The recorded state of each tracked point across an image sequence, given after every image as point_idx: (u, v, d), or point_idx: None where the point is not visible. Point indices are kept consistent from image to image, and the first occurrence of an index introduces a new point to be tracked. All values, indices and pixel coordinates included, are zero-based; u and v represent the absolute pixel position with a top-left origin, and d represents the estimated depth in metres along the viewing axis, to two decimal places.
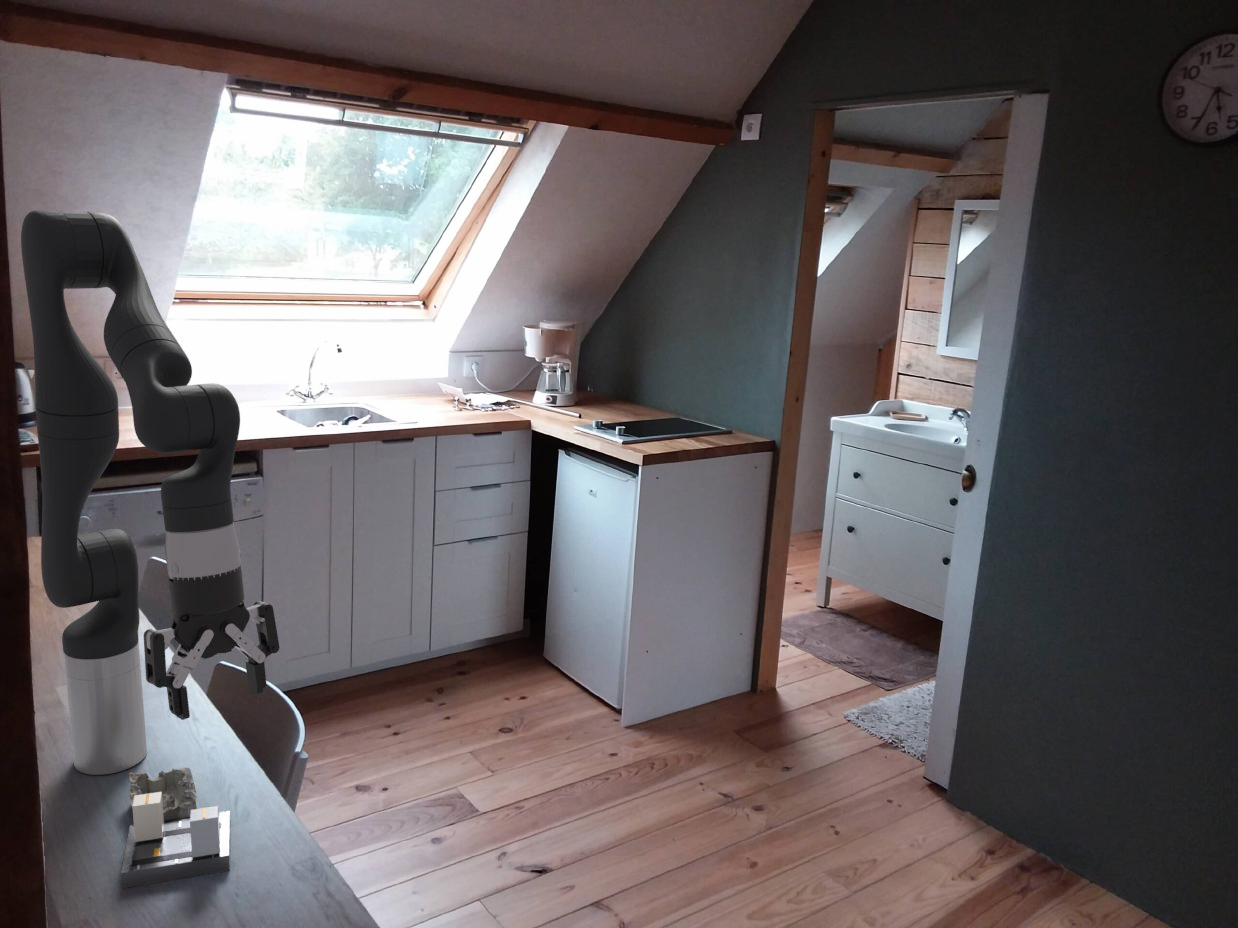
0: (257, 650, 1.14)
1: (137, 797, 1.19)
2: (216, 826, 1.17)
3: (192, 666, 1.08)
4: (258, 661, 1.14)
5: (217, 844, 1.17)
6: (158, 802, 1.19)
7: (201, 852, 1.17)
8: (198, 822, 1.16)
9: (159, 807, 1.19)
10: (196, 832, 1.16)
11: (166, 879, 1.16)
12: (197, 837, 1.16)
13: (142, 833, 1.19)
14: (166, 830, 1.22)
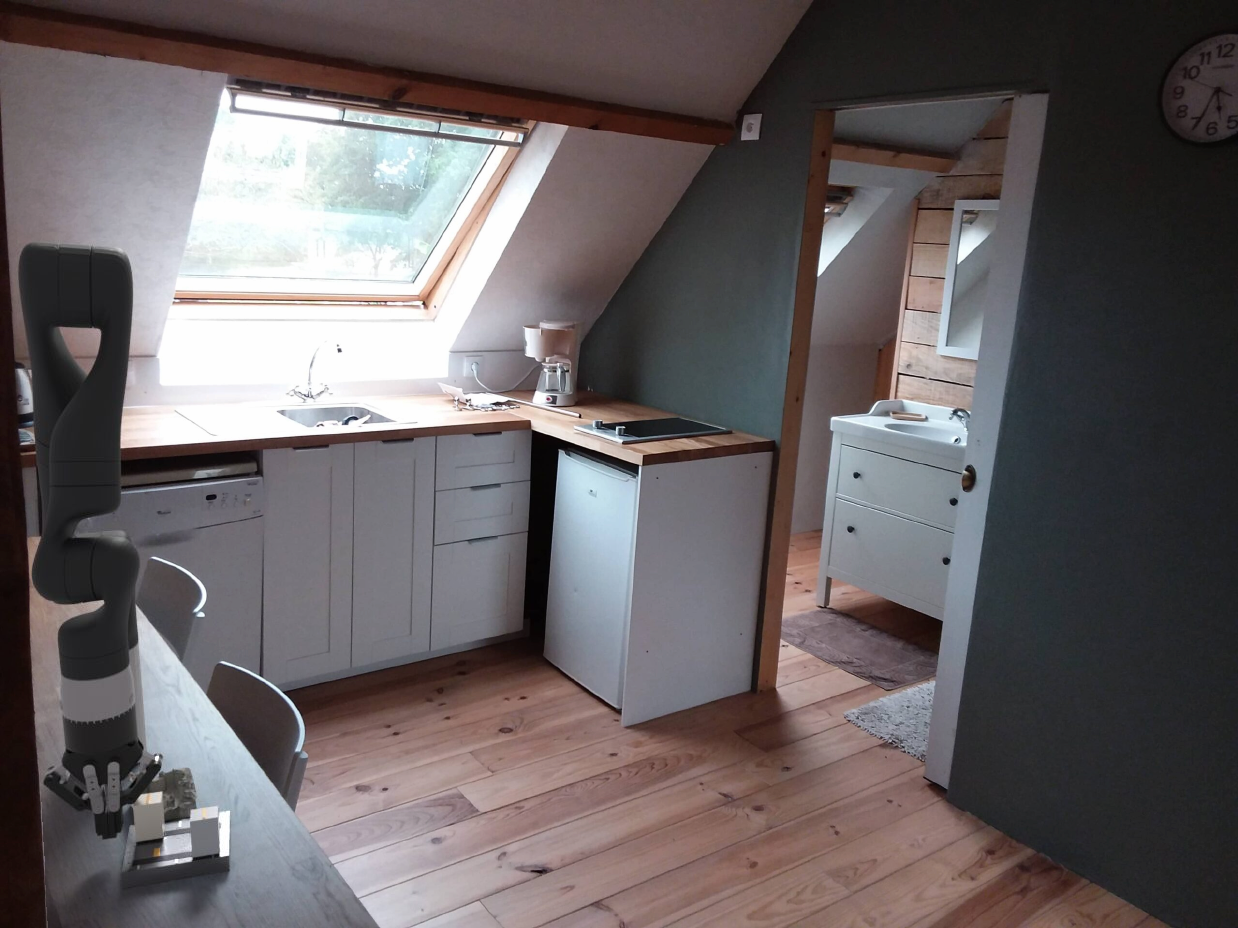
0: (110, 800, 1.16)
1: None
2: (216, 826, 1.17)
3: (97, 795, 1.15)
4: (109, 808, 1.17)
5: (217, 844, 1.17)
6: (159, 802, 1.19)
7: (201, 852, 1.17)
8: (198, 822, 1.16)
9: (160, 807, 1.19)
10: (196, 832, 1.16)
11: (166, 879, 1.16)
12: (197, 837, 1.16)
13: (143, 833, 1.19)
14: (166, 830, 1.22)
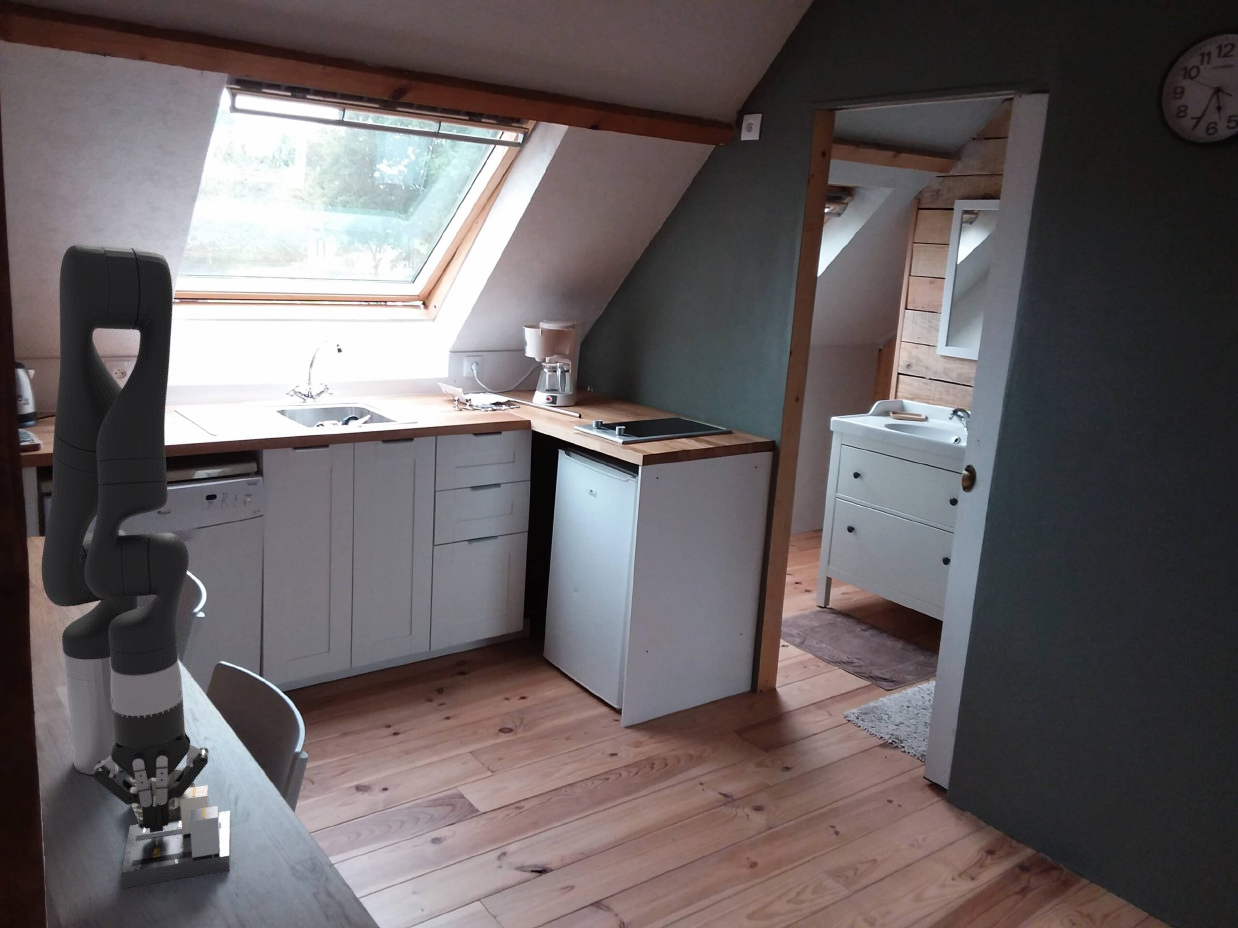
0: (158, 793, 1.18)
1: None
2: (216, 826, 1.17)
3: (145, 788, 1.17)
4: (157, 801, 1.18)
5: (217, 844, 1.17)
6: (205, 795, 1.20)
7: (201, 852, 1.17)
8: (198, 822, 1.16)
9: (206, 800, 1.21)
10: (196, 832, 1.16)
11: (166, 879, 1.16)
12: (197, 837, 1.16)
13: (189, 826, 1.21)
14: (166, 830, 1.22)
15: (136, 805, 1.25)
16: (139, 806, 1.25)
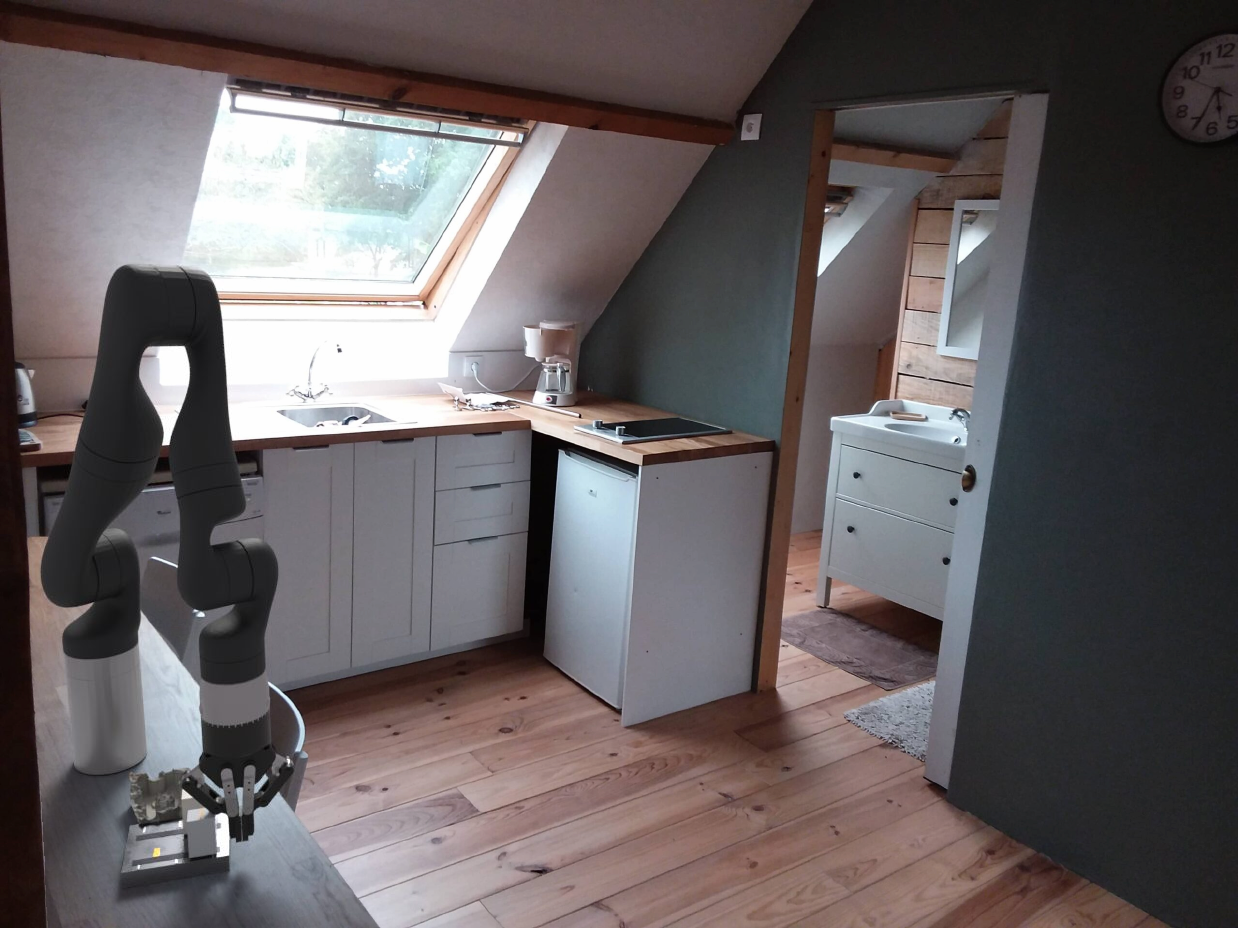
0: (244, 803, 1.17)
1: None
2: (213, 826, 1.16)
3: (233, 798, 1.16)
4: (243, 811, 1.17)
5: (214, 844, 1.17)
6: None
7: (198, 853, 1.17)
8: (194, 822, 1.16)
9: None
10: (193, 833, 1.16)
11: (166, 879, 1.16)
12: (194, 837, 1.16)
13: None
14: (166, 830, 1.22)
15: (136, 805, 1.25)
16: (139, 806, 1.25)
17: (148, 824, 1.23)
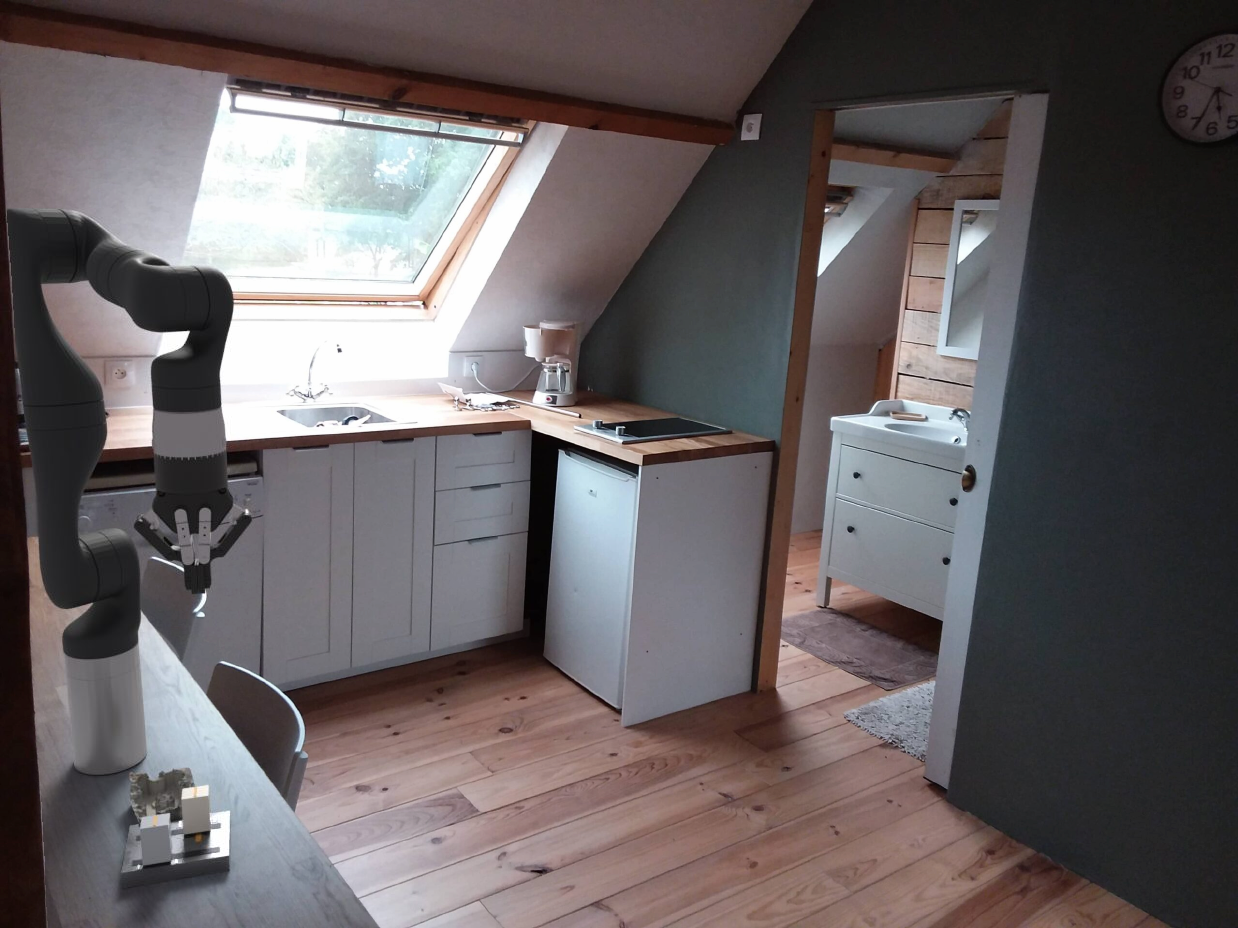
0: (200, 551, 1.13)
1: (186, 790, 1.21)
2: (167, 834, 1.15)
3: (188, 543, 1.12)
4: (199, 559, 1.13)
5: (168, 852, 1.15)
6: (206, 795, 1.20)
7: (152, 860, 1.15)
8: (148, 829, 1.14)
9: (207, 800, 1.21)
10: (147, 840, 1.14)
11: (166, 879, 1.16)
12: (148, 844, 1.14)
13: (190, 826, 1.21)
14: None
15: (136, 805, 1.25)
16: (139, 806, 1.25)
17: None
